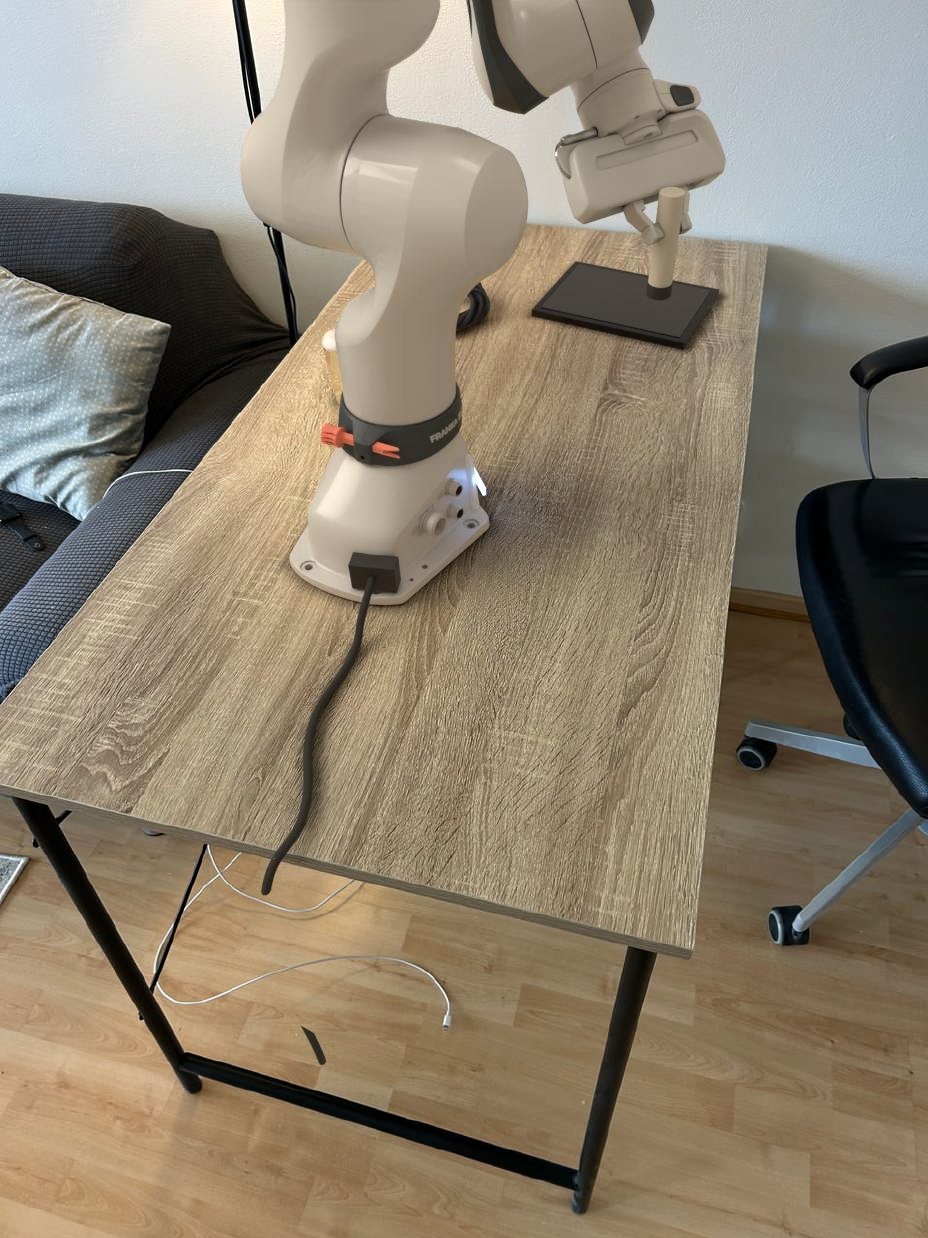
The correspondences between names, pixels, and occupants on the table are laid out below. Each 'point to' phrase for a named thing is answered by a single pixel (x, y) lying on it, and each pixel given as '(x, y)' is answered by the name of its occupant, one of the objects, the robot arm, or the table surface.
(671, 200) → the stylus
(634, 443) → the table surface
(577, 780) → the table surface
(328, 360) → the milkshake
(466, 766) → the table surface
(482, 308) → the cable
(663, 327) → the tablet
